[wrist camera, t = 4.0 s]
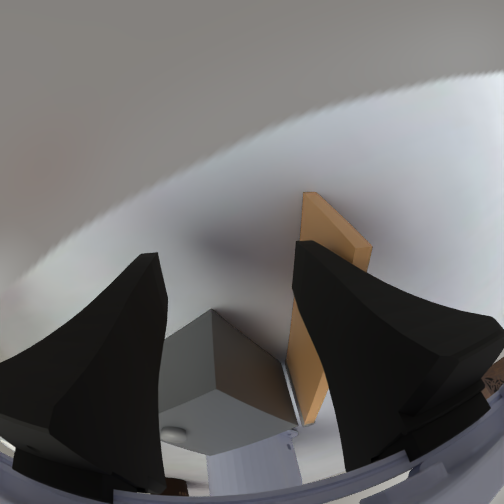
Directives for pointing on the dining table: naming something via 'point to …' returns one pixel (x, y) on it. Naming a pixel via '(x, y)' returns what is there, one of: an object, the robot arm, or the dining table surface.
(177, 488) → the coffee mug
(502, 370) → the tissue box cover
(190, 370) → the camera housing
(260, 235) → the dining table surface
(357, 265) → the side door
